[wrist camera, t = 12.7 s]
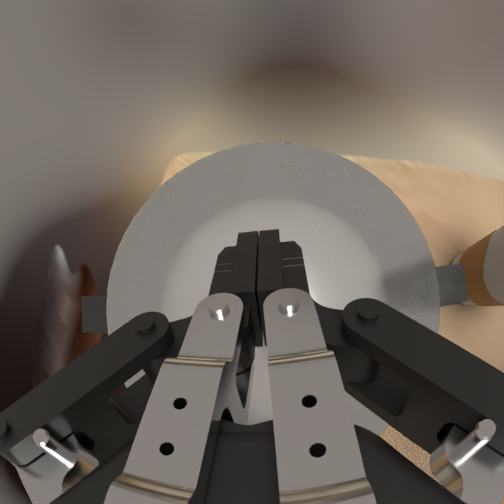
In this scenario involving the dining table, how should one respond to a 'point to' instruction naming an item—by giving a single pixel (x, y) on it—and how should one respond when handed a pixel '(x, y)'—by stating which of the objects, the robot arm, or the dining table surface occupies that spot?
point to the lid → (290, 229)
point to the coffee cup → (484, 270)
